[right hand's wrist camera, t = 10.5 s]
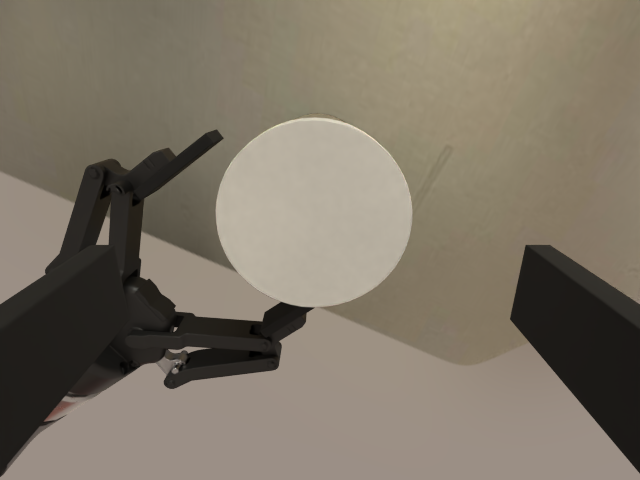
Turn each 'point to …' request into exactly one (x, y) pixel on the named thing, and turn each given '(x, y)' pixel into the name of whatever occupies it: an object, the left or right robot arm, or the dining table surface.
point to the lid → (314, 212)
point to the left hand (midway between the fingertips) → (278, 214)
